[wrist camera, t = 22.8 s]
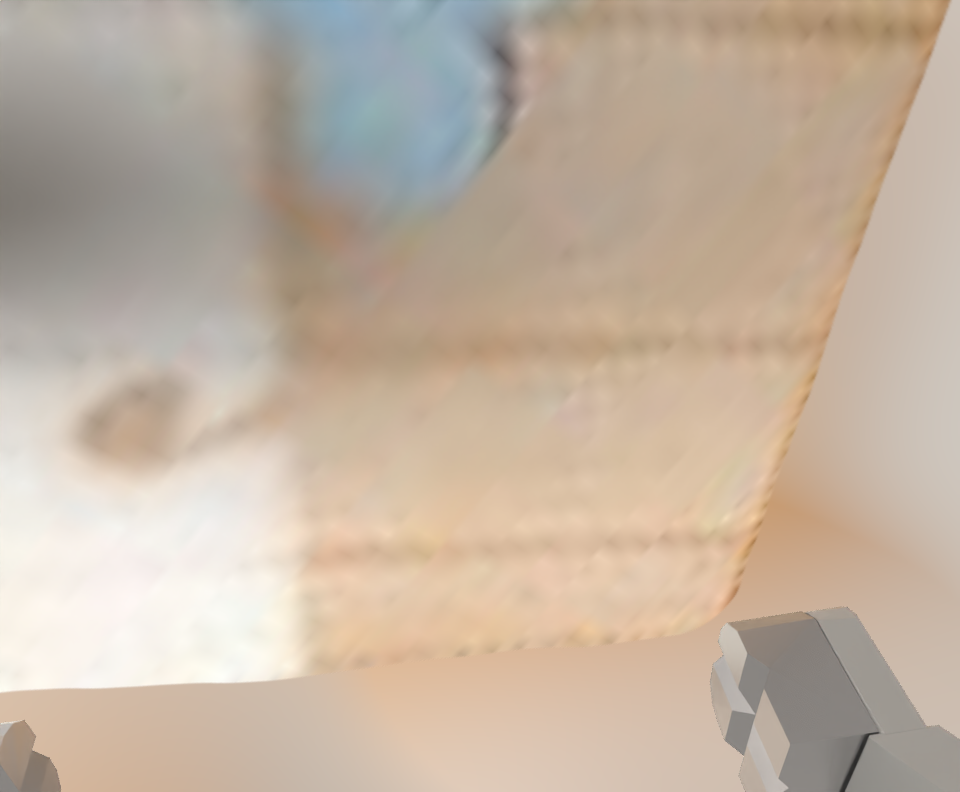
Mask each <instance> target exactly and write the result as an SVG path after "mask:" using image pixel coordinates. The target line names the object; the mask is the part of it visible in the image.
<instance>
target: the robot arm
mask: <svg viewBox="0 0 960 792" xmlns="http://www.w3.org/2000/svg"><path fill="white" fill-rule="evenodd" d="M718 643H719V645H720V647H721V649H722V652H723V654H724V655H723V656H722V657H721V658H720V659H718V660H717V661H716V662H715V663H714V664H713V668H712V673H711V679H710V685H711V695H712V704H713V707H714V711H715V715H716V719H717V722H718V724H719V727H720V730H721V732H722V735H723V737H724V740H725V741H726V742H727V743H729V744H730V745H731V746H732V747H734V748H735V749H736V750H738V751H739V752H740V753H741V754H742V755H744V758H743V762H742V765H741V769H740V773H739V777H740V780H741V782H742V784H743V787H744V790H745V792H960V739H959V738H957V737H955V736H954V735H953V734H951V733H950V732H948V731H947V730H945V729H943V728H942V727H941V726H939V725H936V726H926V725H925V723H924V722H923V720H922V718H921V717H920V715H919V714H918V712H917V710H916V709H915V707H914V706H913V704H912V702H911V701H910V699H909V698H908V696H907V695H906V693H905V691H904V690H903V688H902V686H901V685H900V683H899V682H898V680H897V678H896V677H895V675H894V674H893V672H892V671H891V669H890V667H889V666H888V664H887V663H886V661H885V659H884V658H883V656H882V655H881V653H880V651H879V650H878V648H877V647H876V645H875V643H874V642H873V640H872V639H871V637H870V635H869V634H868V632H867V631H866V629H865V628H864V626H863V624H862V623H861V621H860V620H859V618H858V616H857V615H856V614H855V613H854V612H853V611H852V610H850V609H849V608H848V607H836V608H829V609H823V610H817V611H810V612H794V613H788V614H781V615H775V616H768V617H762V618H756V619H749V620H743V621H736V622H730V623H726V624H725V625H724V626H723V627H722V628H721V632H720V636H719V640H718ZM35 738H36V736H35V734H34V733H33V732H32V730H31V729H30V727H29V726H28V725H27V723H26V722H25V720H22V721H15V722H7V723H0V792H61V786H60V782H59V778H58V774H57V770H56V768H55V766H54V765H53V763H52V762H51V760H50V758H49V757H46V756H44V755H42V754H39V753H37V752H35V751H32V748H33V745H34V741H35Z"/></svg>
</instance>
